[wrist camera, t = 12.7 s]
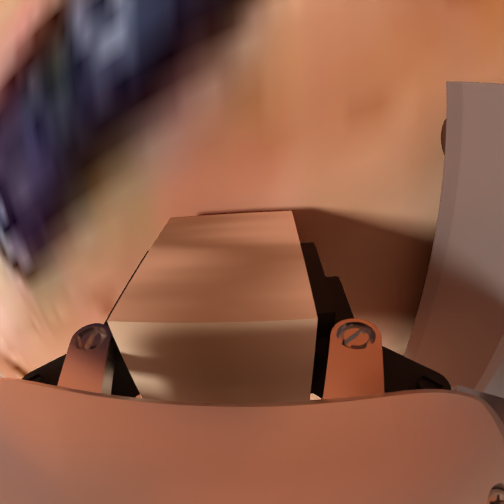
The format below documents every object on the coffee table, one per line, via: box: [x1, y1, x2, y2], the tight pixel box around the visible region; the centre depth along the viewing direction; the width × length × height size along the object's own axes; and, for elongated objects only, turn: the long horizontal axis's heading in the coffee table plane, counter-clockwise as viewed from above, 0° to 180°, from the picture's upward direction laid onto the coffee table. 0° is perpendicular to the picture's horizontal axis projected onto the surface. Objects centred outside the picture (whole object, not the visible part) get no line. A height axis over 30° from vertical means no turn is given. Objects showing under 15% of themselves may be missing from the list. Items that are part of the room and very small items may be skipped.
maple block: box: [107, 211, 318, 403], centre depth 10 cm, size 4×4×6 cm
